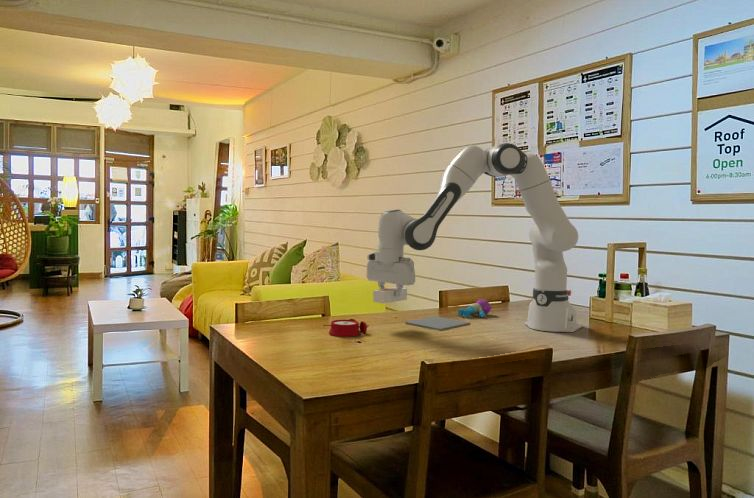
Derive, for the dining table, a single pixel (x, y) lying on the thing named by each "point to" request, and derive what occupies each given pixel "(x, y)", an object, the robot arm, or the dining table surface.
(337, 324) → the alarm clock
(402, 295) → the white rectangular block
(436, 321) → the mat
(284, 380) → the dining table surface
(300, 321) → the dining table surface
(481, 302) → the toy
